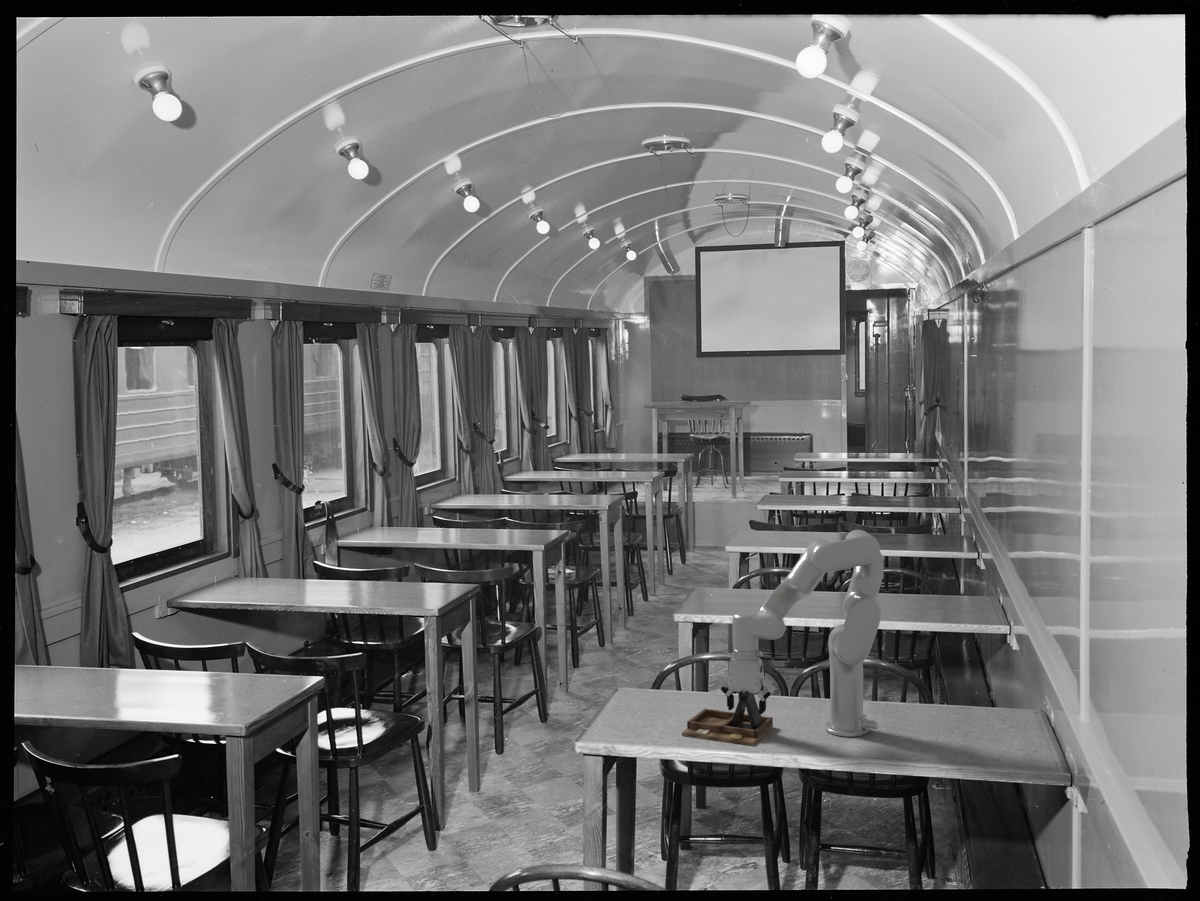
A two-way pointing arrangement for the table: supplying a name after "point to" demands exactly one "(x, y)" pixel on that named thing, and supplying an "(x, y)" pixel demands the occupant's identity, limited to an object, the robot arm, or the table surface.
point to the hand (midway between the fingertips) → (746, 710)
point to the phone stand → (752, 709)
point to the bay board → (725, 727)
